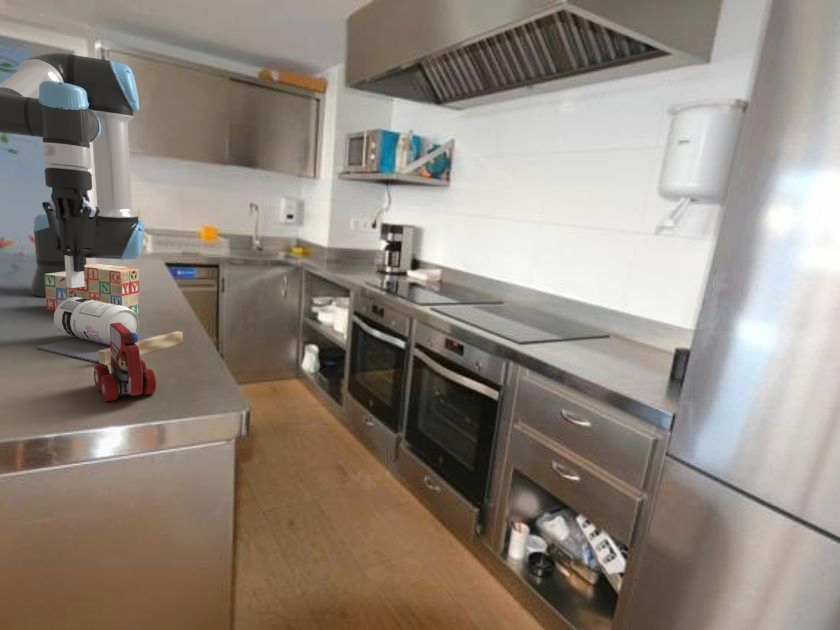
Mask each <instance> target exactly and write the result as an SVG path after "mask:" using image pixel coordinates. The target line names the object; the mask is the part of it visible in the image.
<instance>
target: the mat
mask: <svg viewBox="0 0 840 630" xmlns="http://www.w3.org/2000/svg"><path fill="white" fill-rule="evenodd" d="M137 336H138V341H140V340H144V339H148V338H152V337H156V336H157V335H155V334H149V333H145V332H139V331H138V332H137ZM36 348H37V349H38V350H42V351H46V352H50V353H54V354H58V355H63V356H66V355H67V357H70V356H72V357H71V358H74V357H77V358H76V359H79V358H81V359H80V360H83V359H85V360H84V361H87V360H89V361H88V362H91V361H94V362H93V363H95V362H99V355H98V351H100V350H104V349H108V348H111V347H110V345H107V344H103V343H98V342H94V341H90V340H86V339H81V338H77V337H74V338H70V339H66V340H62V341H56V342H53V343H52V342H51V343H47V344H42V345H38V346H36Z"/></svg>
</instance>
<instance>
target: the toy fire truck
mask: <svg viewBox="0 0 840 630" xmlns="http://www.w3.org/2000/svg"><path fill="white" fill-rule="evenodd" d="M109 330H110V332H109V333H110V347H111V348H110V349H111V350H110V357H111V364H110V368H109V366H108V364H107V365H103V364H97V365H95V366H94V367H93V380H94V386H95V388H96V390H97V391H99V392H101V396H102V400H103V402H107V403H108V402H113V401H116V400H117V399H118V398H119V397H118V396H120V395H123V394H124V393H127V394H129V395H130V396H139V395H142V394H143V395H144V396H147V395H153V394H155V393H156V389H157V380H156V374H155V372H154V370H153V369H150V368H149V369H148V368H147V364H146V361H144V360H142V358H141V355H140V353H139V348H138V346H137V345H136V344H135V343H137V342H138V336H137V335H136V334H135V333H132V332H131V331H130V330H129V329H127V328H126V327H125V326H124V325H123V324H121V323H111V324H110V327H109Z"/></svg>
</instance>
